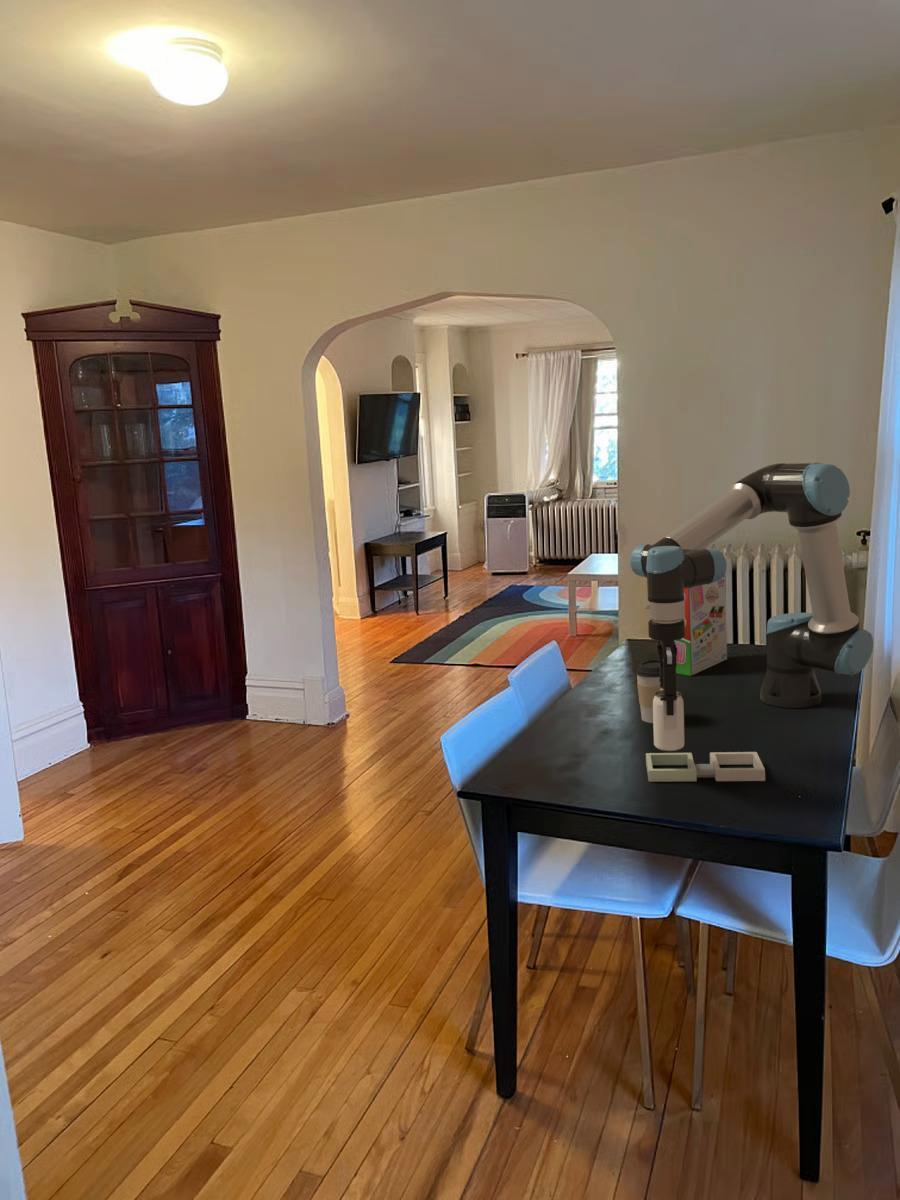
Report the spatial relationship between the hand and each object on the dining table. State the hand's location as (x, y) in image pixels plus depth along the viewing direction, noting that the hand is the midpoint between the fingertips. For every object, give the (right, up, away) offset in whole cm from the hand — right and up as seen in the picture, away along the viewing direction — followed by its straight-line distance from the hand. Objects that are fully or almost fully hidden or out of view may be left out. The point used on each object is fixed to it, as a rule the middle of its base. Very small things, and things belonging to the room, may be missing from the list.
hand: (668, 722), depth 191 cm
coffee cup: (+6, -4, +36) cm, 37 cm away
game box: (+30, +6, +78) cm, 84 cm away
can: (0, -6, +1) cm, 6 cm away
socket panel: (+8, -11, +1) cm, 14 cm away
